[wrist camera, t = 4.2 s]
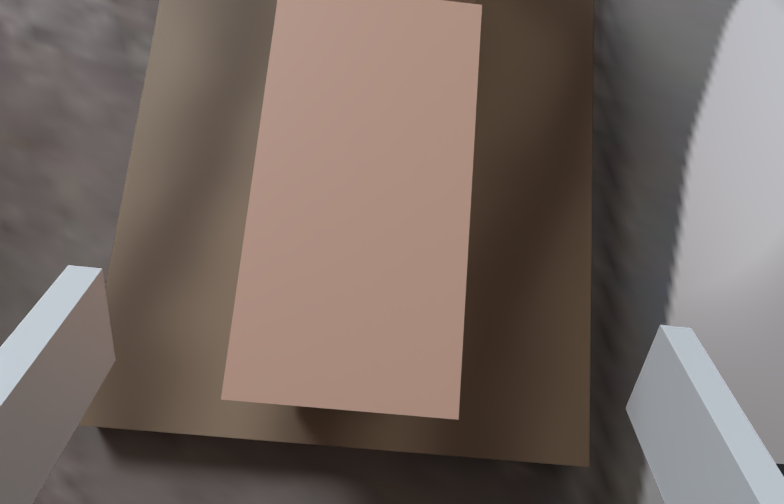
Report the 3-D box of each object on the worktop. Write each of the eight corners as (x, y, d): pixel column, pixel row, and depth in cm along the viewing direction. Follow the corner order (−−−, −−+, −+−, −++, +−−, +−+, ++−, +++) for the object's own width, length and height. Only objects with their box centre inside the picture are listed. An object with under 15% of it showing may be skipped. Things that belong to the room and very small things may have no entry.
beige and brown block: (95, 423, 24) (-218, 451, 10) (202, -156, 30) (89, -599, 17) (574, 463, 24) (838, 533, 11) (583, -108, 31) (762, -491, 17)
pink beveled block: (285, 401, 22) (220, 399, 11) (311, 184, 24) (279, -20, 13) (399, 410, 23) (458, 419, 11) (416, 194, 24) (482, 5, 13)
